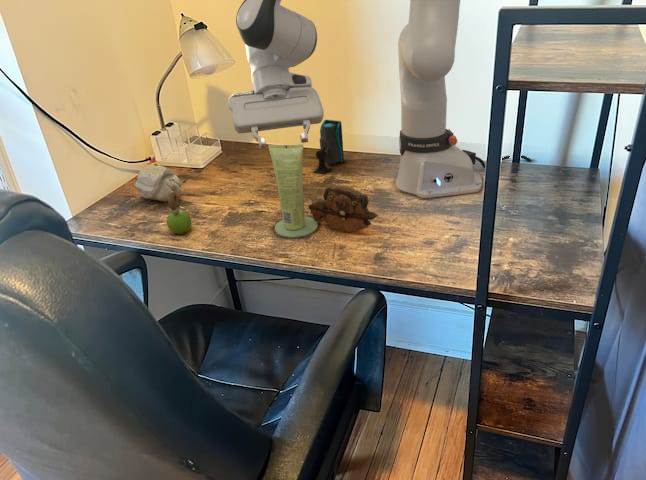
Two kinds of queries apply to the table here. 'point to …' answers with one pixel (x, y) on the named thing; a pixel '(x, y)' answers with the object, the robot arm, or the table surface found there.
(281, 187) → the tube
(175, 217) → the green bulbous piece
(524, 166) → the table surface
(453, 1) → the robot arm
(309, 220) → the coaster
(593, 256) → the table surface
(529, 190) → the table surface
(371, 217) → the wooden carving
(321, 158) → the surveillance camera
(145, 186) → the fossil replica
